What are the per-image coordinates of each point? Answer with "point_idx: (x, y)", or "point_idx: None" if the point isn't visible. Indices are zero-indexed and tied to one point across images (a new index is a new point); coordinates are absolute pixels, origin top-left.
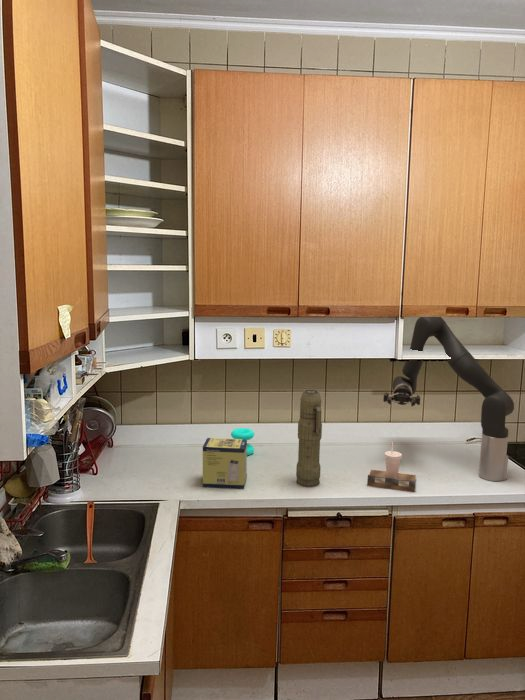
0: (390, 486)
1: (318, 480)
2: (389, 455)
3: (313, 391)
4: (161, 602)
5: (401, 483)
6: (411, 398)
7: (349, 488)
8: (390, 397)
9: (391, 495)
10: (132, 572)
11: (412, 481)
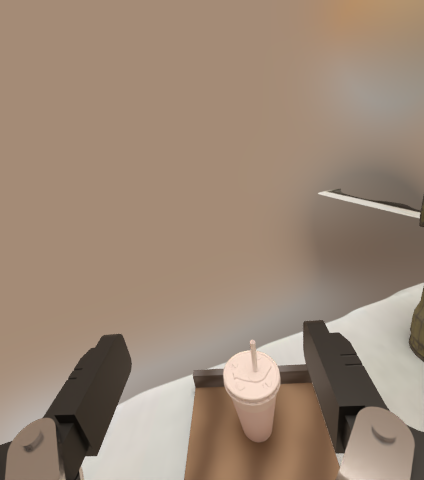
0: None
1: (413, 339)
2: (259, 355)
3: None
4: (344, 200)
5: None
6: (59, 455)
7: None
8: (341, 380)
9: None
10: (387, 202)
11: (200, 370)
